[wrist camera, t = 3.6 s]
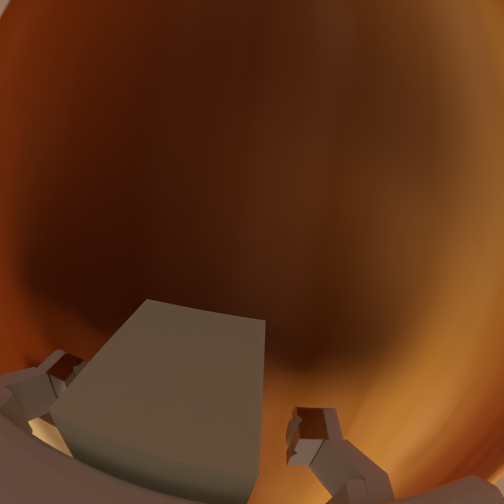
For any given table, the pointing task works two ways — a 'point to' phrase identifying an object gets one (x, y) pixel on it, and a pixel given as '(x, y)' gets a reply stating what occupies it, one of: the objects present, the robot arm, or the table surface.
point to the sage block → (172, 404)
